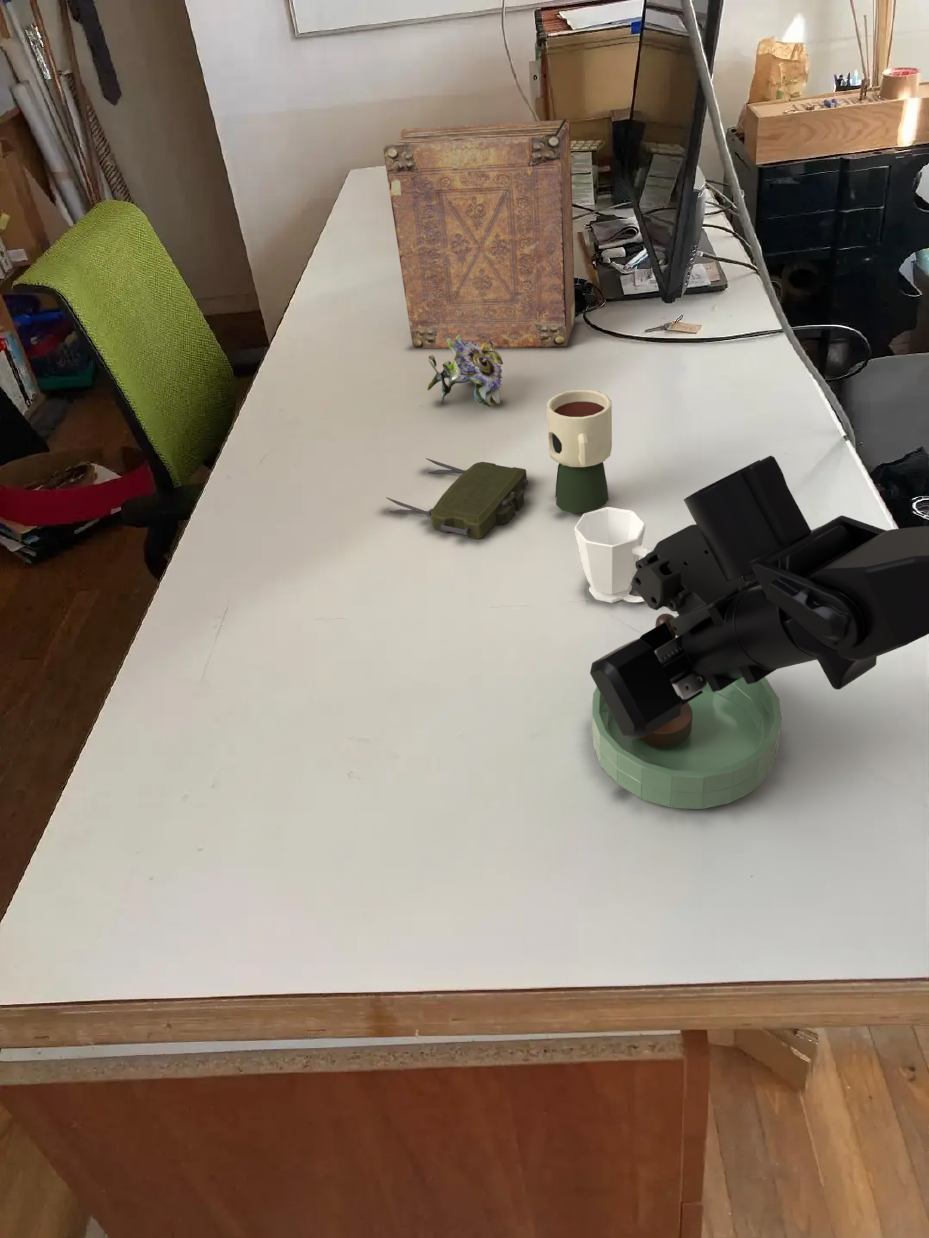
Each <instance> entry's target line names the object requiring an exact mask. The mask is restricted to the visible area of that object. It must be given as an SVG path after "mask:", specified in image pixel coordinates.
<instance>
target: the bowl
mask: <svg viewBox="0 0 929 1238" xmlns="http://www.w3.org/2000/svg"><path fill="white" fill-rule="evenodd" d="M594 689H595V690H594V691H593V693H592V706H591V707H592V709H591V717H592V718H591V721H592V723H591V724H592V725H591V727H592V746H593V748H594V752H595V754H596V756H597V757H596V758H597V760H598V762H599V765H600V766H601V768H602V769H603V770H604V771H605V772H606V774H608V776H609V777H610V778H611V779H612V780H613V781H614V782H615V783H616V784H617V785H618V786H620V787H621V788H623V789H625V790H626V791H628V792H629V793H631V794H633V795H634V796H636V797H637V798H639V799H641V800H644V801H647V802H650V803H654V804H657V805H661V806H664V807H667V808H671V809H691V810H705V809H708V808H713V807H718V806H722V805H727V804H731V803H734V802H736V801H737V800H739V799H741V798H743V797H745V796H746V795H749V794H751V793H752V792H754V791H755V790H756V789H757V788H759V786H760V785H761V783H762V782H763V781H765V779H766V778H767V777H768V776H769V774H770V773H772V769H773V766H774V764H775V763H774V762H775V760H776V756H777V753H778V748H779V742H780V735H781V730H782V724H783V723H782V722H783V714H782V710H781V709H782V708H781V704H780V703H781V702H780V698H779V696H778V694H777V693H776V691H775V689H774V688H773V686H772V685H771V684H770V681H769V680H768V678H766V676H765V677H764V678H762V679H761V680H759V681H758V682H756V683H751V684H747V683H746V681H745V679H744V678H743V677H741V678H740V679H738V680H736V681H735V682H733V683H732V684H730V685H728V686H727V687H725V688H724V689H722V690H720V691H715V692H713V691H712V689H711V687H710V686H709V684H708V683H707V686H706V687H705V688H704V689H702V692H703V693H702V694H700V695H699V696H697V697H695V698H694V699H692V700H690V701H689V702H688V703H689V705H690V706H691V708H692V713H693V716H692V729H691V733H690V735H689V737H688V738H687V739H686V740H685V741H684V742H683V743H681V744H679V745H677V746H673V747H668V748H660V747H654V746H650V745H648V744H646V743H644V742H642V741H641V740H640V739H639V738H636V739H631V738H628V737H625V736H623V734H622V732H621V731H620V729H619V727H618V725H617V723H616V721H615V719H614V717H613V716H612V714H611V712H610V710H609V708H608V706H607V704H606V702H605V701H604V699H603V697H602V695H601V693H600V691H599V689H598V687H597V686H596V688H594Z"/></svg>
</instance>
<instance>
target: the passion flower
mask: <svg viewBox="0 0 929 1238" xmlns="http://www.w3.org/2000/svg"><path fill="white" fill-rule="evenodd" d="M446 341H447V344H448V346H449V348H448V349H450V351H451V352H452V354H453V356H454V357H453V362H452V361H450V360H447V361H444V362H442V368H443V369H442V371H438V369H437V368H436V367H437V361H436V357H435V356H434V355H433V354H432V355H429V356H428V363H430V366H431V367H432V369H433V370H434V371H435V375H434V377H433V378H432V379H431V381H430V382H429V383H428V385H427V390H428V391H430V390H431V389H432V388H433V387H434V386H435V385H436V384H438V383H439V382H441V391H440V404H441V405H442V404H443V402H444V400H445V397H446V396H447V395H448V394H450V393H451V392H452V388H453V386H455V384H465V383H467V382H471V383H472V384H473V385H474V391H473V398H474V399H475V401H476V402H478V403H479V404H483V405H484V406H486V407H488V408H491V407H492V405H495V406H496V405H497V406H498V405H500V403H501V401H500V396H499V393H498V392H499V391H500V389H501V386H502V385H503V382H502V380H501V379H503V376H502V373H503V372H502V371H503V369H502V367H501V366H502V365H504V362H503V360H502V355H500V353H499V352H498V351H496V348H494V347H493V345H492V342H491V341H488V345H486V344H485V343H483V344H482V346H480V345H479V344H478V343H477V344H473V342H472V340H471V341H469V343H468V342H466V341H464V342H463V341H462V340H461V339H460V335H458V336H457V337H456V343H455V342H452V341H451V339H450V338H446ZM445 379H448V382H447V383H446V381H445Z"/></svg>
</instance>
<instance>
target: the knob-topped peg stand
mask: <svg viewBox="0 0 929 1238" xmlns="http://www.w3.org/2000/svg"><path fill="white" fill-rule="evenodd" d="M673 618H675V616H674V615H672V614H671V613H661V614H660V615H658V616H657V618H656V619H655V625H654V628H655V627H657V626H659V625H661V624H662V623H664V622H665V623H666V625H667V626H668V628H669V630H670V632H671V634H672V636H673V638H676V637H677V636H676V634H675V632H674V630H673V629H672V627H671V625H670V623H669V621H670V620H671V619H673ZM692 716H693V713H692V708H691V706H690V705H689V703H688V702H687V703H686V704H684V705H682V706H681V715H680V716H678V717H677V718H675V719H673V720H672V721H670V722H669V723H667V724H665V725H664V726H662V727H661V728H659V729H657V730H656V731H654V732H653V733H651V734H650V735H648V736H646V737H642V738H639V739H640V740H641V741H642V742H644V743H646V744H648V745H650V746H654V747H660V748H668V747H673V746H677V745H679V744H681V743H683V742H684V741H685V740H686V739H687V738H688V737H689V735H690V733H691V729H692Z"/></svg>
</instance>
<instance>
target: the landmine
mask: <svg viewBox="0 0 929 1238" xmlns="http://www.w3.org/2000/svg"><path fill="white" fill-rule="evenodd" d="M425 460H427V461H429V462H431V463H433V464H435V465H436V466H439V467H442V468H444V469H436V470H432V471H431V470H430V471H428V473H429V474H431V473H434V474H459V476H458V477H457V479H456V480H455V481H454V482H453V483H452V484H451V485H450V486H449V487H448V488H447V489H446V491H444V492H443V494H442V495H441V497H440V498H439V499H438V501H437V502H436V504H435V505H434V507H433V508H430V509H428V510H423V509H421V508H418V507H415V506H413V505H411V504H407V503H404V502H401V501H398V500H396V499H393V498H390V497H388V496H386V497H385V499H386V500H389V501H390V502H392V503H394V504H396V505H398V506H400V507H403V508H405V509H401V508H400V509H399V508H398V509H395V510H389V513H399V514H414V515H415V514H416V515H424V516H426V517H428V518H430V517H431V524H432V528H433V530H436V531H439V532H443V533H455V534H459V535H464V536H467V537H469V538H473V539H477V540H480V539H482V538H483V537H484V536H486V534H487V533H489V531H490V530H491V529H492V528H493V526H495V524H497V525H498V524H499V525H505V524H508V523H509V522H510V521H511V520H512V518H513V517H515V516H516V511H518V512H519V511H520V509H521V507H522V506H523V505H524V504H525V497H524V489H525V488H526V487H527V486H528V485H529V479H528V477H527V476H528V475H527V469H525V468H522V467H515V466H513V467H509V466H505V465H499V464H496V463H493V462H487V461H480V462H479V461H478V462H476V463H474V464H472V465H471V466H470V467H469V468H467V469H461V468H459V467H455V466H452V465H448V464H445V463H443V462H439V461H436V460H433V459H430V458H427V457H425ZM460 474H461V475H460Z"/></svg>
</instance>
